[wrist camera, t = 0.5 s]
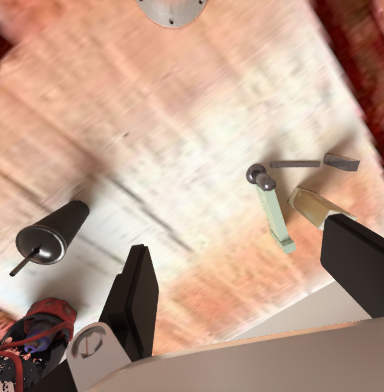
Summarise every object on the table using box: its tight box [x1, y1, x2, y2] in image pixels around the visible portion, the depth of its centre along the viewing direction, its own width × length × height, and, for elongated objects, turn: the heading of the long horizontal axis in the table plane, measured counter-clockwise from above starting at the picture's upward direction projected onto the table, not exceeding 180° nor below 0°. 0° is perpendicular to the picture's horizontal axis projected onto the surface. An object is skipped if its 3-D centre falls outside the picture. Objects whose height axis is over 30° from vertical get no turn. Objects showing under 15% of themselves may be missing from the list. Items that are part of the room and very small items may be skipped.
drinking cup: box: [9, 200, 89, 277], centre depth 37 cm, size 8×8×20 cm
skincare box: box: [288, 187, 357, 230], centre depth 43 cm, size 6×4×12 cm
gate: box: [256, 183, 296, 254], centre depth 46 cm, size 16×2×7 cm, turn 24°
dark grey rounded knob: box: [246, 165, 276, 191], centre depth 42 cm, size 4×4×8 cm
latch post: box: [270, 154, 360, 171], centre depth 42 cm, size 3×14×7 cm, turn 89°
